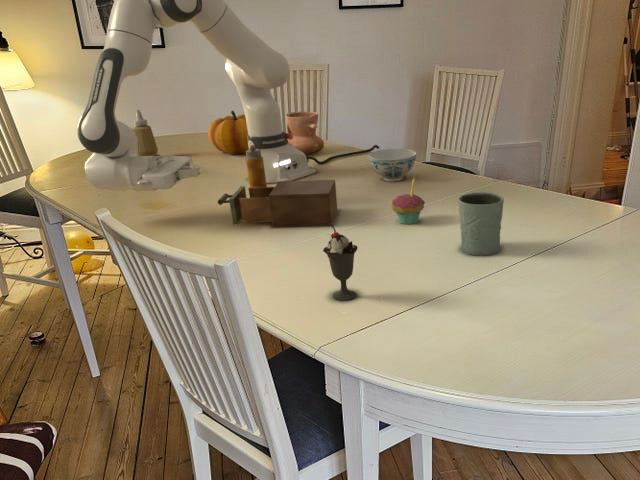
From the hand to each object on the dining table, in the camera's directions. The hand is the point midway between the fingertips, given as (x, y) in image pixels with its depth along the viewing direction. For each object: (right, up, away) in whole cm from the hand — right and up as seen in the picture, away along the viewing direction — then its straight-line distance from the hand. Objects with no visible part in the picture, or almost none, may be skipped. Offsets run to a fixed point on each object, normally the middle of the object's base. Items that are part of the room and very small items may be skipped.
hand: (199, 172), depth 171 cm
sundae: (+41, -37, -40) cm, 68 cm away
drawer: (+14, -11, +5) cm, 19 cm away
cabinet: (+28, -11, +5) cm, 30 cm away
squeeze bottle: (-41, +27, +77) cm, 92 cm away
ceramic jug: (+19, +29, +75) cm, 82 cm away
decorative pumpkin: (-8, +32, +83) cm, 89 cm away
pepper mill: (+13, -5, +16) cm, 22 cm away
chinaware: (+52, +8, +37) cm, 64 cm away
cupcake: (+55, -14, -1) cm, 57 cm away
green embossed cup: (+71, -24, -21) cm, 78 cm away
